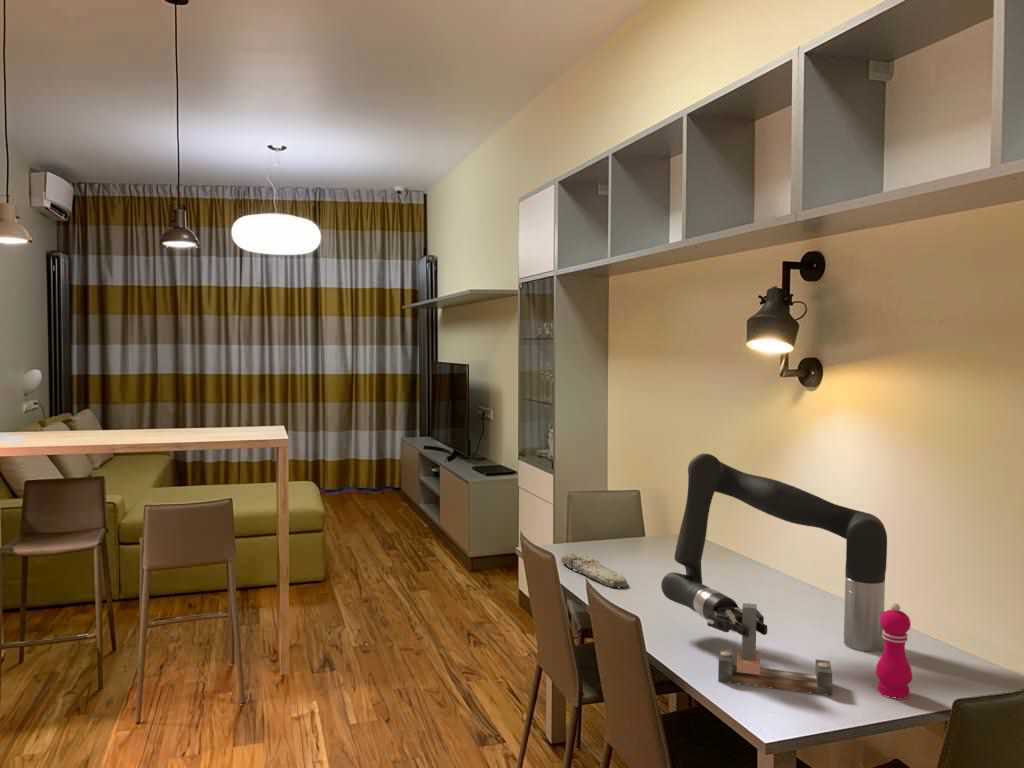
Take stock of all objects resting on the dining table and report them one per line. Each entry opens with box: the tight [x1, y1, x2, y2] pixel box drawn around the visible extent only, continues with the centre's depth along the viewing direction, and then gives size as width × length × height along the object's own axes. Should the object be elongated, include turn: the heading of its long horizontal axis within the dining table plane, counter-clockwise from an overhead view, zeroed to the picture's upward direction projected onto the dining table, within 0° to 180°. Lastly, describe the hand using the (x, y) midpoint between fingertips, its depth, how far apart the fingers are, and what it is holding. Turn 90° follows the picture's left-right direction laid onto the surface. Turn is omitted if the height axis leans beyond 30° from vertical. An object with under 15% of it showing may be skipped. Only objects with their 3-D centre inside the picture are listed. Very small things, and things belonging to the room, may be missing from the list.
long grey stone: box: [561, 553, 628, 588], centre depth 264 cm, size 35×5×10 cm
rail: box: [717, 648, 833, 696], centre depth 180 cm, size 24×7×5 cm, turn 72°
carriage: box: [736, 602, 761, 675], centre depth 181 cm, size 5×6×14 cm
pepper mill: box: [875, 602, 913, 699], centre depth 174 cm, size 7×7×20 cm
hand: (756, 631), depth 179 cm, fingers closed on carriage, 4 cm apart
